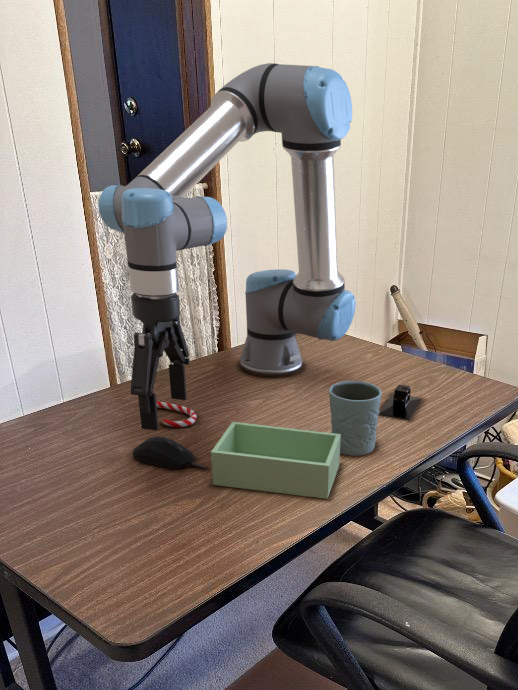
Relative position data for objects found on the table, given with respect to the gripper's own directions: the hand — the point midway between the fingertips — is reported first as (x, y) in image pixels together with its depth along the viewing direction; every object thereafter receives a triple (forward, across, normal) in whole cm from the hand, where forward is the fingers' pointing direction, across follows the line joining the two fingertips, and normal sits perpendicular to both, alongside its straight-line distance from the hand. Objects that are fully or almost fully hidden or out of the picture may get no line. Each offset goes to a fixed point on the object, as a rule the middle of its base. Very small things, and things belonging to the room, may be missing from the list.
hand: (165, 413), depth 123 cm
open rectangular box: (+10, 0, +21) cm, 23 cm away
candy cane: (+10, -19, -8) cm, 23 cm away
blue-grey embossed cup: (+10, -15, +32) cm, 37 cm away
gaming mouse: (+10, 0, 0) cm, 10 cm away
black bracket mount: (+9, -37, +40) cm, 55 cm away
